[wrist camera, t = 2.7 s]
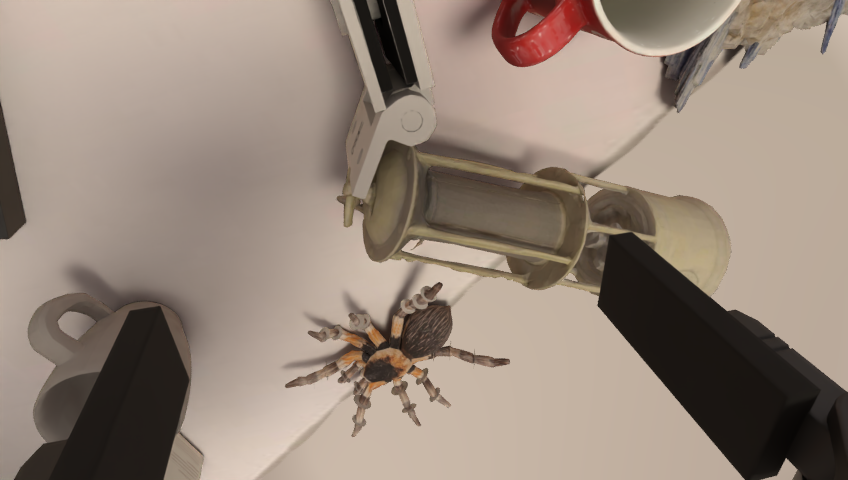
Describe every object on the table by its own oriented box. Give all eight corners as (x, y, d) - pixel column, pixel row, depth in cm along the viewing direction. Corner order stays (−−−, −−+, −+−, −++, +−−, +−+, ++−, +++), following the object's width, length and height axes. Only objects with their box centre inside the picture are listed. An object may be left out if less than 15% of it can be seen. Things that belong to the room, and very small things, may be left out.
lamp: (733, 315, 38) (360, 258, 25) (602, 313, 49) (302, 274, 36) (730, 184, 39) (382, 69, 27) (605, 212, 51) (320, 141, 38)
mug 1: (227, 335, 43) (211, 424, 35) (141, 383, 43) (105, 481, 35) (123, 233, 37) (74, 313, 28) (23, 290, 37) (-54, 385, 29)
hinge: (351, 201, 28) (345, 147, 37) (443, 191, 29) (416, 140, 38) (313, -91, 21) (317, -72, 30) (435, -95, 22) (404, -76, 31)
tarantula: (373, 455, 50) (374, 413, 54) (524, 379, 45) (512, 340, 50) (255, 368, 42) (267, 327, 46) (424, 266, 37) (419, 231, 42)
